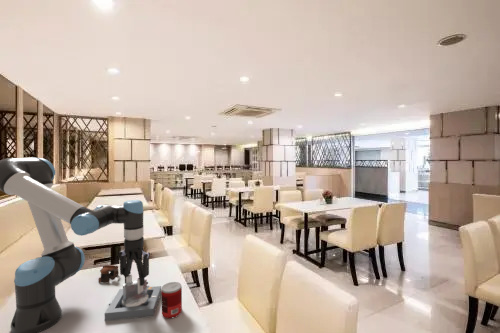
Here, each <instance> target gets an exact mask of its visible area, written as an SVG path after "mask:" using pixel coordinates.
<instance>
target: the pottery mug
mask: <svg viewBox="0 0 500 333" xmlns="http://www.w3.org/2000/svg"><path fill="white" fill-rule="evenodd" d="M99 272H100V276H99V277H98V283H104V284H106V283H107V284H109V283H110V281H115V279H116V278H117V276H118V275H119V274H120V268H119V266H118V265H112V264H107V265H106V264H105V265H102V268H101V269H100V270H99Z"/></svg>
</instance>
